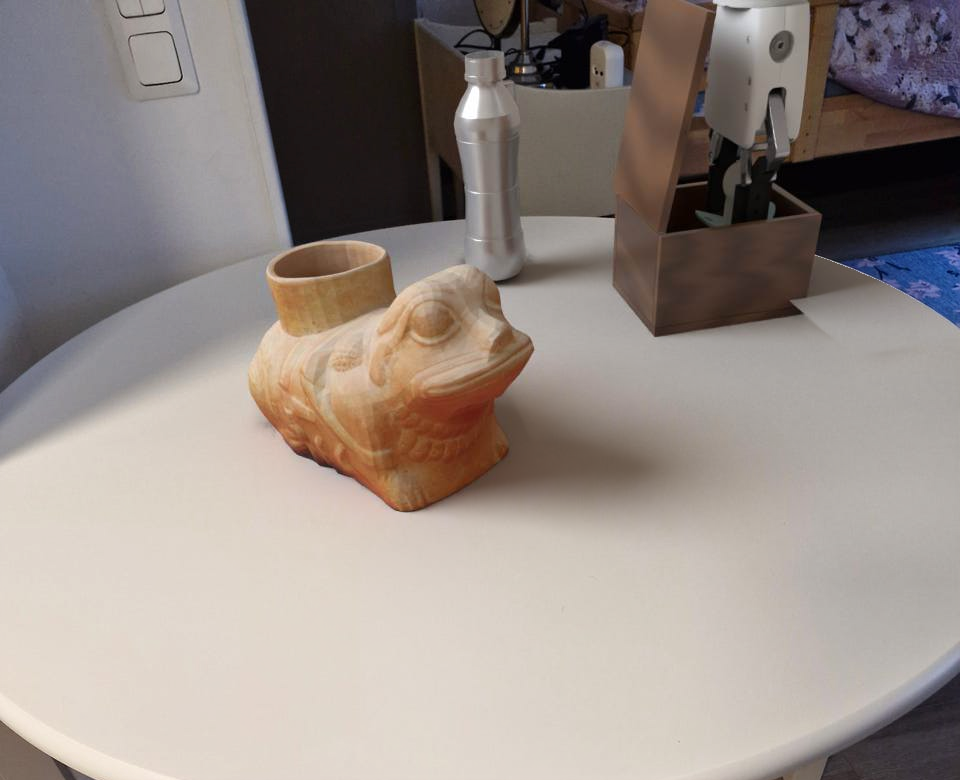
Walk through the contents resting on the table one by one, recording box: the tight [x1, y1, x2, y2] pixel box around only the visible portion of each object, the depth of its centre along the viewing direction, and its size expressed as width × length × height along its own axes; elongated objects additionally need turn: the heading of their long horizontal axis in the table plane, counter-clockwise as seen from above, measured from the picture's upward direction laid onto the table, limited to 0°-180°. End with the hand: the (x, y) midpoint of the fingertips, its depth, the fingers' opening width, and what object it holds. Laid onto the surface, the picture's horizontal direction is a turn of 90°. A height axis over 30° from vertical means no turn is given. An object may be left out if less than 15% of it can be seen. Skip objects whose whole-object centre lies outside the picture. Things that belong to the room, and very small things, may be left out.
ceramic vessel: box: [247, 239, 535, 512], centre depth 66 cm, size 14×26×15 cm, turn 46°
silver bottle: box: [453, 50, 527, 282], centre depth 88 cm, size 6×7×20 cm
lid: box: [611, 0, 716, 232], centre depth 75 cm, size 15×13×1 cm
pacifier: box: [695, 160, 775, 227], centre depth 81 cm, size 7×6×6 cm
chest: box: [612, 180, 823, 338], centre depth 84 cm, size 15×13×9 cm
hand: (734, 217), depth 82 cm, fingers open, 5 cm apart
